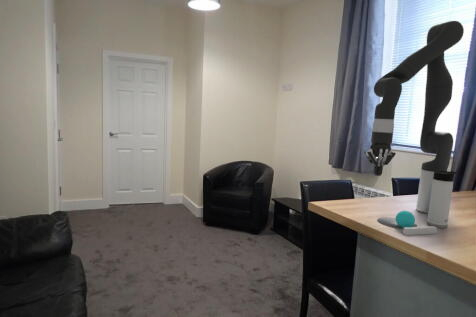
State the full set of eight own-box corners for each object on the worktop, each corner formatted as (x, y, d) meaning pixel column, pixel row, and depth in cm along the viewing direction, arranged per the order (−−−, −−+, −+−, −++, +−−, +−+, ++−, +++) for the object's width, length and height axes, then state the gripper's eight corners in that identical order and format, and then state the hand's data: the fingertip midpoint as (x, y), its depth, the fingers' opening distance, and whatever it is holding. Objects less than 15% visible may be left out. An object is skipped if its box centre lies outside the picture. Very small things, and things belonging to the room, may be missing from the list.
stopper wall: (432, 231, 114) (433, 226, 114) (436, 233, 113) (437, 227, 112) (403, 233, 111) (403, 227, 110) (406, 234, 109) (407, 228, 109)
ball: (403, 221, 121) (407, 206, 119) (417, 230, 115) (421, 214, 113) (390, 223, 119) (393, 208, 117) (403, 232, 114) (406, 217, 112)
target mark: (398, 217, 130) (399, 216, 130) (426, 228, 117) (426, 228, 117) (369, 218, 126) (370, 217, 126) (394, 229, 114) (394, 229, 114)
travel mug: (451, 229, 118) (459, 173, 115) (430, 227, 119) (438, 171, 117) (444, 224, 124) (451, 170, 122) (424, 222, 125) (431, 168, 123)
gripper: (374, 130, 125) (369, 177, 127) (404, 132, 128) (398, 177, 130) (361, 129, 132) (357, 173, 134) (390, 131, 135) (385, 174, 138)
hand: (377, 175), depth 132 cm, fingers closed
